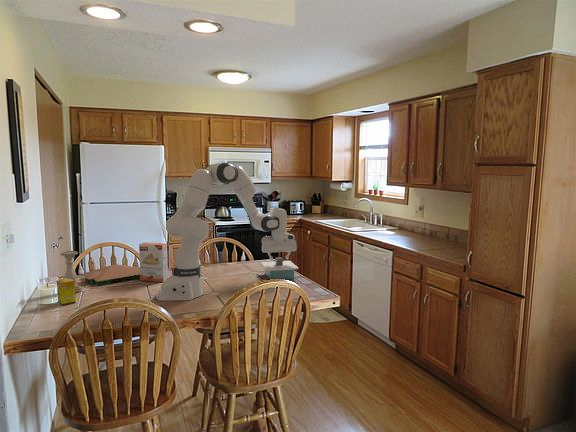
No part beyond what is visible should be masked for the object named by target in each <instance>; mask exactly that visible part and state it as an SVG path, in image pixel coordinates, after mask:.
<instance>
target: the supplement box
mask: <svg viewBox="0 0 576 432" xmlns="http://www.w3.org/2000/svg"><path fill="white" fill-rule="evenodd" d="M75 286H76V284H75V285H74V280H72V279H71V278H66V279H65V278H62V279H61V278H59V279H57V280H56V288H57V289H56V290H57V303H58V304H60V306H61V307H62V306H68V305H72V304H76V293H75Z"/></svg>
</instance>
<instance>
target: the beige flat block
mask: <svg viewBox="0 0 576 432" xmlns="http://www.w3.org/2000/svg"><path fill="white" fill-rule="evenodd" d="M135 275H136V276H135ZM82 276H83V277H85V278H86V279H87V280H88V282H89V284H91V285H92V284H94V285H97V286H98V287H99V285H101V284H105V285H107V284H108V285H111V283H110V282H111V280H117V279H123V278H129V277H132V278H135V280H137V279H140V266H135V265H134V266H131V265H125V264H119V263H118V264H111V265H107V266H104V267H100V268H97V269H94V270H90V271H86V272H84V274H83V275H82ZM122 282H125V280H122Z"/></svg>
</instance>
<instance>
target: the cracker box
mask: <svg viewBox="0 0 576 432" xmlns="http://www.w3.org/2000/svg"><path fill="white" fill-rule="evenodd" d="M138 251H139V252H138V253H139V267H140V275H139V277H140V278H139V279H140V280H139V281H144V282H157V283H158V282H159V283H163V282H164V281H165V280H166V279H168V278H169V271H168V270H169V266H168V244H167V243H163V242H146V241H145V242H142V243H139V244H138Z"/></svg>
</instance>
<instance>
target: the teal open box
mask: <svg viewBox="0 0 576 432" xmlns="http://www.w3.org/2000/svg"><path fill="white" fill-rule="evenodd" d="M264 274H265V276H266V277H267V279H268V280H269V279H283V280H292V279H295V269H292V270H276V271H267V270H266V269H265V268H264Z"/></svg>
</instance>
